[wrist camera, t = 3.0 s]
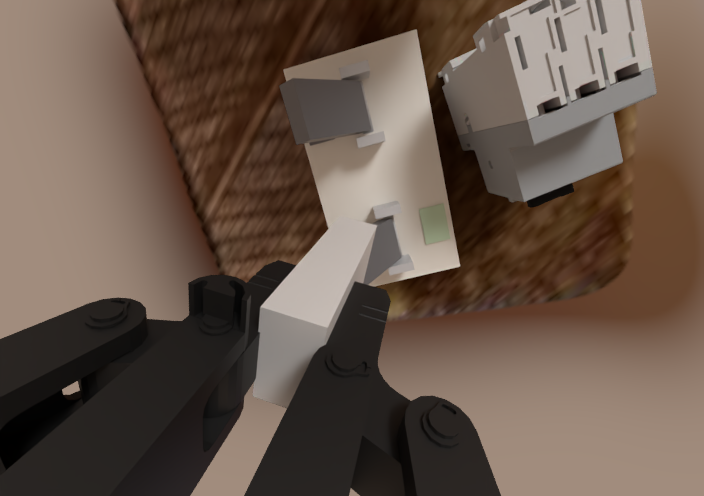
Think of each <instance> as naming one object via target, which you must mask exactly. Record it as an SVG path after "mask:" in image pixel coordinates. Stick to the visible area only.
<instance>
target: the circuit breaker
mask: <svg viewBox="0 0 704 496" xmlns="http://www.w3.org/2000/svg"><path fill="white" fill-rule="evenodd" d="M473 38H474V41H475V44H476V49H474V50H472V51H470V52H468V53H466V54H464V55H461V56H459V57H457V58H455V59H453V60H451V61H449V62H448V63H447V64H446V65H445V66H444V68H443V69H442V70H441V71H442V72H439V73H438V76H439V78H440V77H443V79H444V82H445V85H444V86H443V87H442V89H443V92H444V95H445V98H446V101H447V104H448V107H449V110H450V113H451V116H452V119H453V122H454V125H455V128H456V131H457V135H459V136H458V138H459V141H460V144H461V147H462V150H463V151H466V150H470V149H471V150H475V153H476V156H477V159H478V162H479V165H480V169H481V172H482V175H483V178H484V181H485V184H486V187H487V190H488V192H489V193H492V194H496V195H500V196H503V197H507V198H508V199H509V201H510V202H515V201H523V202H525V201H527V203H528V207H536V206H539V205H541V204H543V203H545V202H548V201H550V200H552V199H555V198H557V197H559V196H564V195H567V194H569V193H572V192H574V189H573V185H572V183H573V182H575V181H578V180H580V179H583V178H585V177H588V176H590V175H593V174H595V173H598V172H600V171H603V170H606V169H608V168H611V167H613V166H616V165H618V164H621V163H622V162H623V159H622V155H621V150H620V145H619V140H618V135H617V130H616V125H615V120H614V115H613V113H614V112H616V111H619V110H621V109H623V108H626V107H628V106H631V105H633V104H635V103H638V102H640V101H642V100H645V99H647V98H650V97H652V96H654V95H656V93H657V92H656V86H655V80H654V74H653V69H652V62H651V56H650V51H649V45H648V40H647V33H646V28H645V22H644V17H643V10H642V4H641V0H528V1H526V2H524V3H522V4H520V5H517V6H515V7H513V8H511V9H509V10H507V11H505V12H503V13H501V14H499V15H497V16H496V18H494V19H492V20H490V21H488V22H486V23H485V24H484V25H483V26H482V27H481V28H480V29H479V30H478V31H477V32H476V33H475V34H474V35H473ZM650 67H651V68H650ZM647 68H648V69H647Z"/></svg>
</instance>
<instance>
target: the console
mask: <svg viewBox="0 0 704 496" xmlns="http://www.w3.org/2000/svg"><path fill="white" fill-rule="evenodd" d="M283 71H284V75H285V78H286V82H287V81H288V80H290V79H292V78H302V79H326V80H351V81H362V82H363V86H364V90H365V95H366V99H367V103H368V108H369V112H370V116H371V121H372V125H373V129H374V131H373V132H370V133H366V134H363V133H360V134H356V135H350V136H345V137H339V138H333V139H328V140H322V141H316V142H310V143H305V144H304V145H305V148H306V152H307V155H308V159H309V162H310V166H311V169H312V173H313V176H314V180H315V183H316V187H317V190H318V194H319V197H320V201H321V204H322V208H323V211H324V215H325V218H326V222H327V225H328V229H329V228H330V227H331V226H332V224H333V223H334V222H335V221H336V220H337V219H338V218H339V216H343V217H347V218H350V219H354V220H358V221H362V222H366V223H369V224H372V223H374V222H376V221H378V220H379V219H383V217H387V216H391V215H393V216H394V220H395V225H396V229H397V233H398V238H399V242H400V246H401V251H402V255H403V256H402V257H401V258H400V259H399V260H398V261H397V262H395V263H394V264H393V265H392V266H391V267H389V268H388V269H387V270H386V271H384V272H383V273H382V274H381V275H380V276H378V277H377V278H376V279H375V280H373V281H372V282H371V283H370V284H369V285H370V286H373V287H375V286H379V285H383V284H388V283H392V282H396V281H400V280H405V279H409V278H413V277H417V276H422V275H426V274H430V273H435V272H439V271H443V270H447V269H452V268H456V267H460V263H459V257H458V252H457V246H456V241H455V236H454V230H453V225H452V219H451V214H450V208H449V203H448V198H447V192H446V187H445V181H444V176H443V170H442V165H441V160H440V154H439V149H438V143H437V138H436V132H435V127H434V122H433V116H432V111H431V105H430V100H429V95H428V89H427V84H426V78H425V73H424V67H423V62H422V57H421V51H420V46H419V40H418V35H417V29H416V30H412V31H409V32H406V33H403V34H399V35H396V36H393V37H389V38H386V39H383V40H379V41H376V42H373V43H369V44H366V45H363V46H360V47H356V48H353V49H350V50H346V51H343V52H340V53H336V54H333V55H330V56H327V57H323V58H320V59H317V60H313V61H310V62H307V63H303V64H300V65H297V66H293V67H290V68H287V69H284V70H283Z"/></svg>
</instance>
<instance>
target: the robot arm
mask: <svg viewBox="0 0 704 496" xmlns="http://www.w3.org/2000/svg"><path fill="white" fill-rule="evenodd" d="M376 228H377V225H373V224H369V223H366V222H362V221H358V220H354V219H350V218H347V217H343V216H339V218H338V219H337V220H336V221H335V222H334V223H333V224H332V226H331V227H330V228H329V229H328V230H327V231H326V232H325V234H324V235H323V236H322V237H321V238H320V239H319V240H318V242H317V243H316V244H315V245H314V246H313V247H312V248H311V250H310V251H309V252H308V253H307V254H306V255H305V256H304V258H303V259H302V260H301V261H300V262H299V263H298V264H297V266H296V265H293V264H290V263H286V262H283V261H279V260H278V261H276V262H273V263H270V264H268V265H265V266H264V267H263V268H262V269H261V270H260V271H259V272H258V273H256V276H255V275H254V276H253V277H252V278H251V279H250V280H249V282H248V283H246V282H245V281H243V280H241V279H238V278H236V277H232V276H227V275H210V276H206V277H201V278H198V279H196V280H194V281H192V282H190V283H188V284H189V316H188V317H187V318H186V319H184V320H183V321H167V320H152V319H147V318H146V308H145V307H144V306H143V305H142V304H141V303H140V302H138V301H135V300H133V299H127V298H110V299H103V300H99V301H96V302H92V303H89V304H86V305H84V306H81V307H79V308H77V309H74V310H72V311H69V312H67V313H64V314H62V315H59V316H57V317H54V318H52V319H49V320H47V321H44V322H42V323H39V324H37V325H34V326H32V327H29V328H27V329H24V330H22V331H19V332H17V333H14V334H12V335H10V336H7V337H4V338H2V339H0V496H190V495H191V493H192V492H193V490H194V488H195V487H196V485H197V483H198V482H199V481H200V479H201V478H202V476H203V474H204V473H205V471H206V470H207V468H208V466H209V465H210V463H211V462H212V460H213V458H214V457H215V455H216V453H217V452H218V450H219V449H220V447H221V446H222V444H223V442H224V441H225V439H226V438H227V436H228V434H229V433H230V431H231V430H232V428H233V426H234V425H235V423H236V422H237V420H238V418H239V417H240V415H241V412H242V409H243V404H244V396H245V394H246V393H247V391H248V390H249V388H250V387H251V385H252V384H253V382H254V387H253V397H256V398H259V399H262V400H265V401H267V402H270V403H273V404H276V405H279V406H282V407H285V408H287V410H286V412H285V414H284V416H283V418H282V420H281V422H280V424H279V426H278V428H277V430H276V432H275V434H274V436H273V438H272V440H271V442H270V444H269V446H268V448H267V450H266V453H265V454H264V456H263V459H262V461H261V463H260V465H259V467H258V469H257V471H256V473H255V475H254V477H253V479H252V481H251V483H250V485H249V487H248V489H247V491H246V493H245V495H244V496H349V493H350V488H352V489H353V490H354V491H355V492H357V493H358V494H359V495H360V496H501V494H500V492H499V489H498V486H497V484H496V481H495V478H494V476H493V473H492V470H491V468H490V465H489V462H488V460H487V457H486V454H485V452H484V449H483V446H482V444H481V441H480V438H479V436H478V433H477V431H476V429H475V427H474V426H473V424H472V422H471V421H470V419H469V417H468V416H467V415H466V414H465V413H464V412H463V411H462V410H461V409H460V408H459V407H457V406H455V405H454V404H452V403H451V402H449V401H447V400H445V399H442V398H438V397H435V396H420V397H418V398H417V399H415V400H413V401H410V400H408V399H407V398H405V397H404V396H402V395H401V394H399V393H398V392H396V391H395V390H394V389H393V388H391V387H390V386H389V385H388V384H387V382H385V380H384V379H383V377H382V375H381V374H380V372H379V368H378V355H379V351H380V346H381V342H382V337H383V333H384V328H385V324H386V319H387V315H388V311H389V306H390V302H391V301H390V298H389V296H388V294H387V291H386V290H384V289H380V288H377V287H373V286H370V285H366V284H363V282H364V278H365V273H366V269H367V265H368V261H369V257H370V253H371V249H372V244H373V240H374V236H375V232H376ZM76 381H78V384H79V388H80V391H78V392H75V393H73V394H71V395H63V393H62V389H63V388H65V387H67V386H69V385H71V384H72V383H74V382H76Z"/></svg>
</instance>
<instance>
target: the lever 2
mask: <svg viewBox="0 0 704 496" xmlns="http://www.w3.org/2000/svg"><path fill="white" fill-rule="evenodd" d="M372 224H373V225H377V228H376V232H375V236H374V240H373V244H372V249H371V253H370V257H369V261H368V265H367V269H366V273H365V278H364V282H363V284H366V285H369V284H370V283H371V282H372V281H373V280H375V279H376V278H377V277H378V276H380V275H381V274H382V273H383V272H384V271H386V270H387V269H388V268H389V267H391V266H392V265H393V264H394V263H395V262H397V261H398V260H399V259H400V258H401V257H402V256H403V255H402V251H401V246H400V242H399V238H398V233H397V229H396V225H395V220H394V216H393V215H391V216H387V217H383V219H379V220H378V221H376V222H374V223H372Z"/></svg>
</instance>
